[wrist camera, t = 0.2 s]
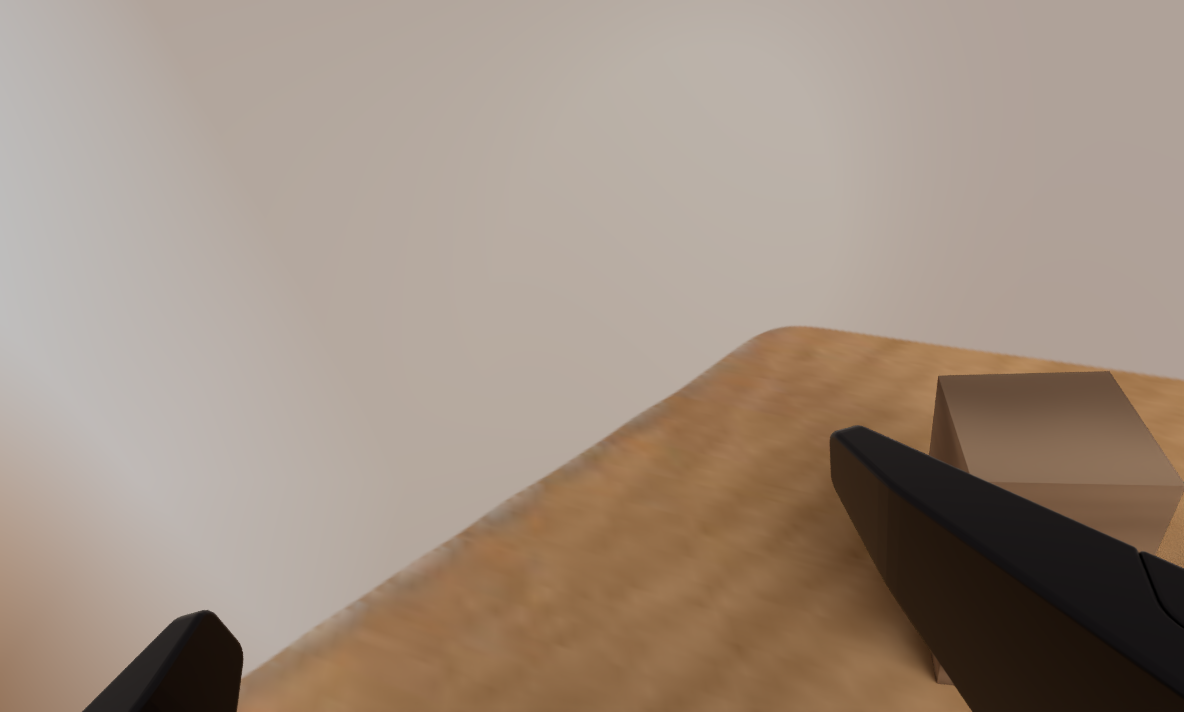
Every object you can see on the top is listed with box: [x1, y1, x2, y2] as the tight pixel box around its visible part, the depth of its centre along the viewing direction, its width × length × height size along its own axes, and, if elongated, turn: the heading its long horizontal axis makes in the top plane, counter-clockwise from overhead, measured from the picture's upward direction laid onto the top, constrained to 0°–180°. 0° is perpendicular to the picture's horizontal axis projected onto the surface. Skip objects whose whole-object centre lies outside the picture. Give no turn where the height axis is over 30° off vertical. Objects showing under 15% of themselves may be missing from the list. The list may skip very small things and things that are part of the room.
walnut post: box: [929, 371, 1184, 685], centre depth 20 cm, size 4×4×10 cm
